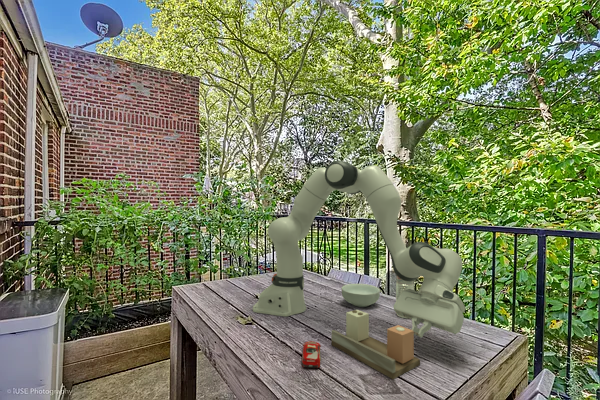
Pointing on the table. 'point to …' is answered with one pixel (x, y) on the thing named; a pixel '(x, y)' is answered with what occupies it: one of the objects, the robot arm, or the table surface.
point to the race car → (311, 354)
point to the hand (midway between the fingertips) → (416, 334)
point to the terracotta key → (400, 343)
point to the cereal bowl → (360, 294)
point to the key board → (372, 354)
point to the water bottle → (402, 288)
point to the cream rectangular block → (357, 325)
